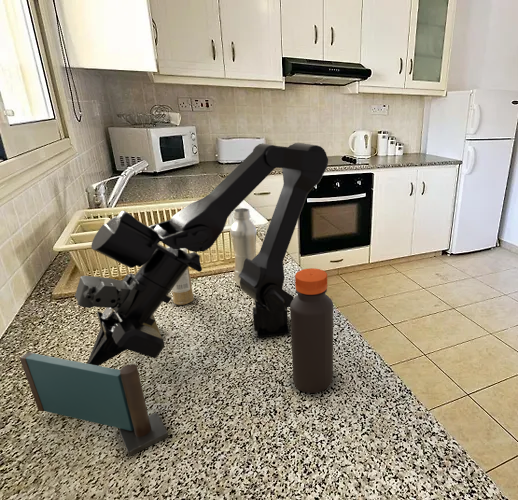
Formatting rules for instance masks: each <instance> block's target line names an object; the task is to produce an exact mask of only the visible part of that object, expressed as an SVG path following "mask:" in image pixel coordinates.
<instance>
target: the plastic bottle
mask: <svg viewBox="0 0 518 500" xmlns="http://www.w3.org/2000/svg"><path fill="white" fill-rule="evenodd" d="M233 218H234V222H233V223H232V224H231V226H230V228H229V229H230V230H229V235H230V239H231V242H232V247H233V252H234V271H233V278H234V281H235V284H236V285H237V286H238V287H240V288H241V286H240V279H241V278H240V277H238V276H239V274H240V273H241V271H242V269H243V265H244V261H245V259H246V258H248V259H250V260H252V259H253V258H254V257H256V256H257V235H258V233H257V231H258V230H257V228H256V225H255V224H254V223H253V222H252V220H250V218H251V215H250V209H249V208H245V207H239V208H235V209H234V210H233Z"/></svg>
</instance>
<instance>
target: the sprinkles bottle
mask: <svg viewBox="0 0 518 500" xmlns="http://www.w3.org/2000/svg"><path fill="white" fill-rule="evenodd" d="M167 248H169V246H167ZM181 250H183V251H185V252H186V253H188V249H186V248H182V249H181ZM171 292H172V299H173V300H172V301H173V303H174V304H175V305H178V306H184V305H187V304H190V303H192V302H193V301H194V300H195V297H194V292H193V284H192V278H191V274H190V267H188V268H187V270H186V271H185V272H184V274H183V275H182V276H181V278H180V279H179V280H178V282H177V283H176V284H175V286H174V287H173V289H172V290H171Z"/></svg>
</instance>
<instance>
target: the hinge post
mask: <svg viewBox="0 0 518 500" xmlns="http://www.w3.org/2000/svg"><path fill="white" fill-rule="evenodd" d="M119 370H120V375H121V379H122V383H123V387H124V391H125V395H126V400H127V404H128V408H129V412H130V416H131V420H132V424H133V428H134V429H133V430H132V431H129V430H125V429H120V428H118V432H119V435H120V437H121V440H122V442H123V445H124V447H125V450H126V453H127V456H128V457H132V456H133V455H136V454H138V453H139V452H141V451H143V450H145V449H147V448H149V447H150V446H153V445H155V444H156V443H159V442H160V441H162V440H164V439H166V438H168V437H169V433H168V431H167V428H166V427H165V425H164V423H163V421H162V420H161V417H160V416H159V414H158V412H153V413H151V414H149V413H148V409H147V404H146V399H145V394H144V391H143V386H142V382H141V377H140V373H139V368H138V365H137V364H134V363H129V364H126V365H124V366H122V367H121V368H120V369H119Z"/></svg>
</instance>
